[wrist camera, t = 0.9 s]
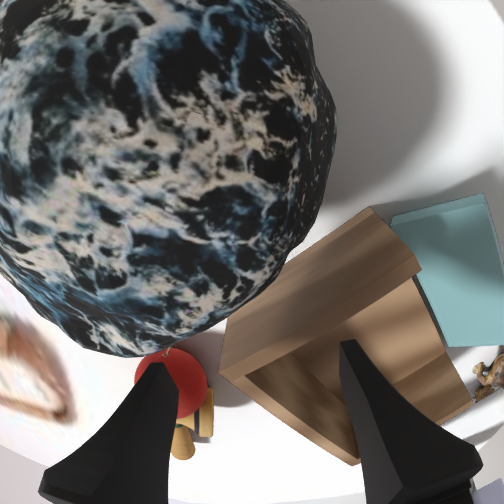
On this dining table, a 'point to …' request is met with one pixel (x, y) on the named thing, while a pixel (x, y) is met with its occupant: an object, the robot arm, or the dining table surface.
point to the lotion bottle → (472, 486)
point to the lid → (459, 268)
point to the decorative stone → (155, 161)
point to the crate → (340, 335)
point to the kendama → (186, 398)
